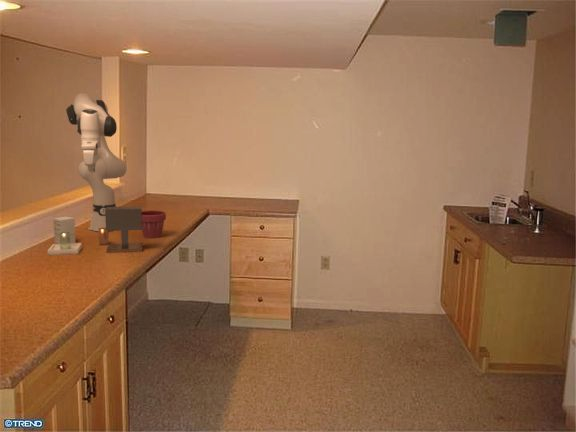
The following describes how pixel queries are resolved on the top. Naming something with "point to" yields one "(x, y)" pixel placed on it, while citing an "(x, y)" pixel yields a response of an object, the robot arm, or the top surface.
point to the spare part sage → (64, 240)
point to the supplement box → (64, 228)
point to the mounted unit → (124, 226)
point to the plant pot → (153, 223)
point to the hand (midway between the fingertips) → (92, 173)
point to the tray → (56, 249)
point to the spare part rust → (103, 236)
